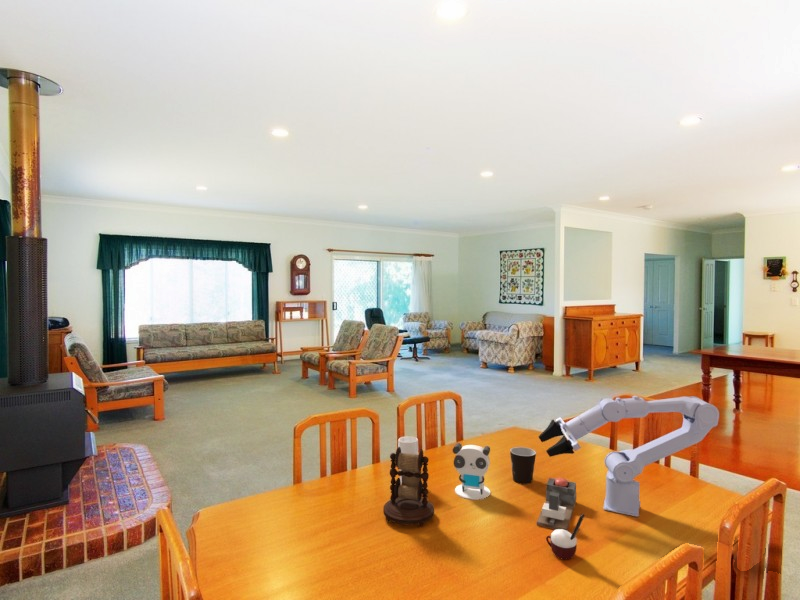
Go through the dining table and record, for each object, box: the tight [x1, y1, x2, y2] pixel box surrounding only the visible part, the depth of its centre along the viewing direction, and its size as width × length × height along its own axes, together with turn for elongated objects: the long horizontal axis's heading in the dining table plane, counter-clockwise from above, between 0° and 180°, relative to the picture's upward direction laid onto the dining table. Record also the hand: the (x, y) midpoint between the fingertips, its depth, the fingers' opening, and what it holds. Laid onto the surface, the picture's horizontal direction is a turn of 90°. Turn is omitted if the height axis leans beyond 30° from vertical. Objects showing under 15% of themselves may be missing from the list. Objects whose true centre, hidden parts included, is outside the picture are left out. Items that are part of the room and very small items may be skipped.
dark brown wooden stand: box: [382, 446, 435, 528], centre depth 139 cm, size 15×15×20 cm
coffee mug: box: [509, 446, 537, 485], centre depth 165 cm, size 12×9×10 cm
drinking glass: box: [397, 435, 419, 485], centre depth 161 cm, size 7×7×15 cm
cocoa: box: [545, 513, 585, 560], centre depth 119 cm, size 10×6×12 cm, turn 22°
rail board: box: [536, 477, 577, 531], centre depth 141 cm, size 8×20×6 cm, turn 153°
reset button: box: [554, 477, 569, 488], centre depth 148 cm, size 4×4×2 cm
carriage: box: [541, 492, 566, 520], centre depth 136 cm, size 6×4×6 cm, turn 63°
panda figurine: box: [452, 442, 491, 501], centre depth 155 cm, size 12×11×15 cm
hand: (543, 446), depth 147 cm, fingers open, 7 cm apart
